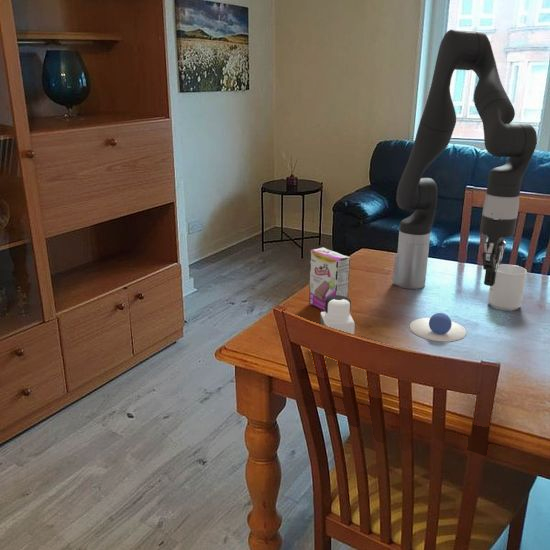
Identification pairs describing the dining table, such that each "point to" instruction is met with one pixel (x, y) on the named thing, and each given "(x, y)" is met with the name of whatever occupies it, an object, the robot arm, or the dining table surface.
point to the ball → (440, 323)
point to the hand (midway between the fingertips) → (489, 284)
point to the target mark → (424, 331)
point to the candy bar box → (327, 276)
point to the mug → (508, 287)
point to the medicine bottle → (338, 314)
